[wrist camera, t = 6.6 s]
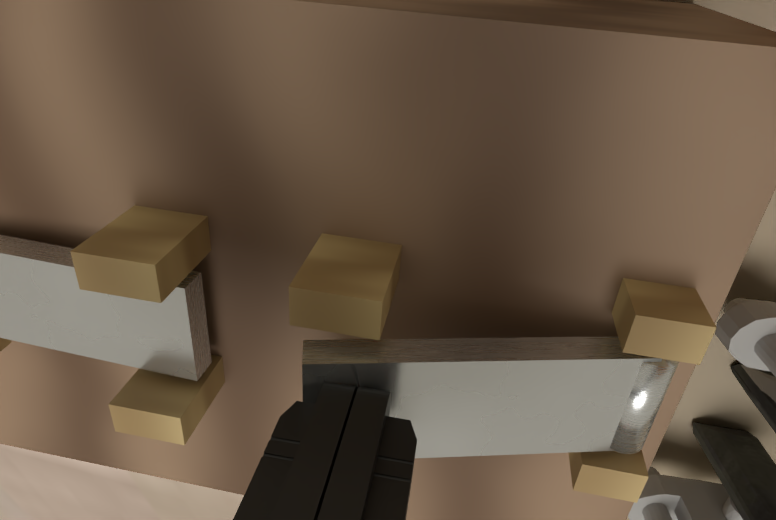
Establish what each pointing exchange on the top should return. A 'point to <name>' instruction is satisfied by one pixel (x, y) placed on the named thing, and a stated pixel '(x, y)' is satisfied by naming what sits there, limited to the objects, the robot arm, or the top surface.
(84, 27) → the latch box
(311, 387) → the silver flat rectangular bar
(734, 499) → the bike brake
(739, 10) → the top surface
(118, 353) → the light grey flat bar
